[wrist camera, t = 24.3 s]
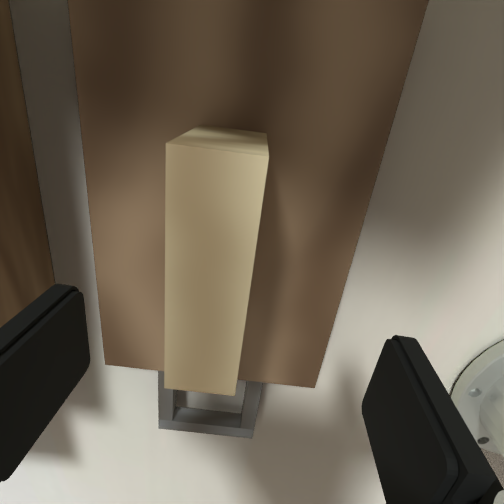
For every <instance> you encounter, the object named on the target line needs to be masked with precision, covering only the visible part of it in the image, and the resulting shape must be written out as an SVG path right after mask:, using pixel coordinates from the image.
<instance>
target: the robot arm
mask: <svg viewBox="0 0 504 504" xmlns="http://www.w3.org/2000/svg"><path fill="white" fill-rule="evenodd" d="M89 363H90V353H89V343H88V334H87V324H86V315H85V306H84V297H83V294H82V293H81V292H79V290H78V288H77V287H75V286H69V285H62V284H55V285H53V286H51V287H50V288H49V289H48V290H46V291H45V292H44V293H43V294H41V295H40V296H39V297H38V298H37V299H35V300H34V301H33V302H32V303H30V304H29V305H28V306H27V307H25V308H24V309H23V310H22V311H20V312H19V313H18V314H17V315H15V316H14V317H13V318H12V319H10V320H9V321H8V322H7V323H5V324H4V325H3V326H2V327H1V328H0V482H1V481H5V480H7V479H8V478H9V477H10V476H11V475H12V474H13V472H14V471H15V470H16V468H17V467H18V465H19V464H20V463H21V461H22V460H23V458H24V457H25V456H26V454H27V453H28V451H29V450H30V449H31V447H32V446H33V445H34V443H35V442H36V440H37V439H38V438H39V436H40V435H41V433H42V432H43V431H44V429H45V428H46V426H47V425H48V424H49V422H50V421H51V419H52V418H53V417H54V415H55V414H56V413H57V411H58V410H59V408H60V407H61V406H62V404H63V403H64V401H65V400H66V399H67V397H68V396H69V394H70V393H71V392H72V390H73V389H74V387H75V386H76V385H77V383H78V382H79V381H80V379H81V378H82V376H83V375H84V374H85V372H86V371H87V369H88V367H89ZM362 415H363V418H364V422H365V426H366V430H367V433H368V437H369V441H370V444H371V448H372V452H373V456H374V459H375V463H376V467H377V471H378V474H379V478H380V482H381V485H382V489H383V493H384V497H385V500H386V504H504V489H503V487H502V485H501V484H500V482H499V480H498V478H497V476H496V475H495V473H494V471H493V470H492V468H491V466H490V464H489V463H488V461H487V459H486V458H485V456H484V454H483V452H482V451H481V449H480V448H482V449H484V450H486V451H489V452H493V453H497V454H501V455H502V456H503V457H504V340H503V341H501V342H499V343H498V344H496V345H494V346H492V347H491V348H489V349H488V350H486V351H485V352H484V353H483V354H481V355H480V356H479V357H477V358H476V359H475V360H474V361H473V362H472V363H471V364H470V365H469V366H468V367H467V368H466V369H465V371H464V372H463V373H462V375H461V376H460V378H459V379H458V381H457V383H456V384H455V387H454V390H453V392H452V395H451V398H450V396H449V394H448V392H447V391H446V389H445V387H444V386H443V384H442V382H441V380H440V379H439V377H438V375H437V374H436V372H435V370H434V368H433V367H432V365H431V363H430V362H429V360H428V358H427V356H426V355H425V353H424V351H423V350H422V348H421V346H420V344H419V343H418V341H417V340H416V339H415V338H411V337H404V336H398V335H395V336H393V337H392V339H387V340H386V342H385V344H384V346H383V349H382V352H381V354H380V357H379V359H378V362H377V365H376V367H375V370H374V372H373V375H372V378H371V380H370V383H369V385H368V388H367V391H366V393H365V396H364V398H363V401H362Z"/></svg>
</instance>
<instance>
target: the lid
mask: <svg viewBox="0 0 504 504" xmlns="http://www.w3.org/2000/svg"><path fill="white" fill-rule="evenodd" d="M428 1H429V0H68V9H69V19H70V28H71V38H72V48H73V57H74V67H75V77H76V87H77V96H78V106H79V116H80V125H81V135H82V145H83V154H84V164H85V174H86V183H87V193H88V203H89V213H90V222H91V232H92V242H93V251H94V261H95V271H96V280H97V290H98V300H99V309H100V319H101V329H102V338H103V348H104V358H105V365H113V366H122V367H131V368H140V369H149V370H158V410H159V429H169V430H178V431H187V432H197V433H206V434H215V435H225V436H234V437H243V438H252V436H253V431H254V426H255V421H256V416H257V411H258V405H259V400H260V395H261V390H262V385H263V382H265V383H274V384H283V385H292V386H301V387H310V388H315V385H316V382H317V378H318V375H319V371H320V368H321V365H322V361H323V358H324V354H325V351H326V348H327V344H328V341H329V337H330V334H331V331H332V327H333V324H334V320H335V317H336V314H337V310H338V307H339V303H340V300H341V297H342V293H343V290H344V286H345V283H346V280H347V276H348V273H349V269H350V266H351V263H352V259H353V256H354V252H355V249H356V246H357V242H358V239H359V235H360V232H361V229H362V225H363V222H364V218H365V215H366V212H367V208H368V205H369V202H370V198H371V195H372V191H373V188H374V185H375V181H376V178H377V174H378V171H379V168H380V164H381V161H382V157H383V154H384V151H385V147H386V144H387V140H388V137H389V134H390V130H391V127H392V123H393V120H394V117H395V113H396V110H397V106H398V103H399V100H400V96H401V93H402V89H403V86H404V83H405V79H406V76H407V72H408V69H409V66H410V62H411V59H412V55H413V52H414V49H415V45H416V42H417V38H418V35H419V32H420V28H421V25H422V22H423V18H424V15H425V11H426V8H427V5H428ZM237 379H238V380H247V381H246V387H245V394H244V400H243V406H242V412H241V414H238V413H229V412H220V411H211V410H202V409H192V408H183V407H176V395H177V390H185V391H194V392H203V393H212V394H221V395H230V396H235V391H236V384H237Z"/></svg>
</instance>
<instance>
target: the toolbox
mask: <svg viewBox="0 0 504 504" xmlns="http://www.w3.org/2000/svg"><path fill="white" fill-rule="evenodd" d="M53 285H55V280H54V274H53V268H52V262H51V256H50V250H49V244H48V238H47V232H46V226H45V220H44V214H43V208H42V201H41V195H40V189H39V183H38V177H37V171H36V165H35V159H34V153H33V147H32V141H31V135H30V129H29V123H28V117H27V111H26V104H25V98H24V92H23V86H22V80H21V74H20V68H19V62H18V56H17V50H16V44H15V38H14V32H13V26H12V20H11V14H10V7H9V1H8V0H0V328H1V327H2V326H3V325H4V324H5V323H7V322H8V321H9V320H10V319H12V318H13V317H14V316H15V315H17V314H18V313H19V312H20V311H22V310H23V309H24V308H25V307H27V306H28V305H29V304H30V303H32V302H33V301H34V300H35V299H37V298H38V297H39V296H40V295H41V294H43V293H44V292H45V291H46V290H48V289H49V288H50V287H51V286H53Z"/></svg>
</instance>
